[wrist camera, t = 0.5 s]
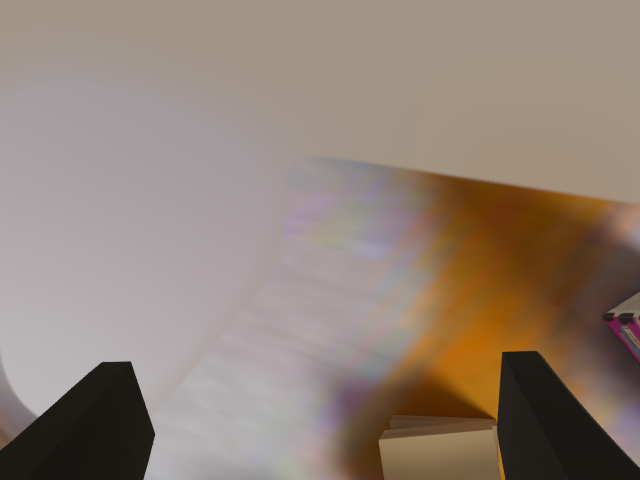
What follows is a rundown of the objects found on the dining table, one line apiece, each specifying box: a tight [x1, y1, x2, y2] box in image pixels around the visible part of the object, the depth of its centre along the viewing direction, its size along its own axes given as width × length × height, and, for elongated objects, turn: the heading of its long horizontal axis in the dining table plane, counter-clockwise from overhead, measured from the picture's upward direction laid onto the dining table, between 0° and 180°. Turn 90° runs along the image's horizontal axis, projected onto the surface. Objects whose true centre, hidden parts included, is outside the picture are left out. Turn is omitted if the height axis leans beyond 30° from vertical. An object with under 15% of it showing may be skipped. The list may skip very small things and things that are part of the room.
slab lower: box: [389, 415, 499, 462], centre depth 34 cm, size 6×6×2 cm
